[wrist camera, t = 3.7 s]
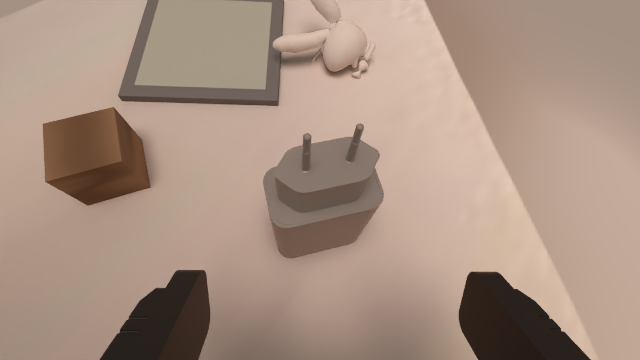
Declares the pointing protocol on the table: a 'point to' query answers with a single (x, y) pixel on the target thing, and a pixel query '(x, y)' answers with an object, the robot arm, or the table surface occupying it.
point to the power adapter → (322, 194)
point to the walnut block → (94, 156)
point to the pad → (206, 53)
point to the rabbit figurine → (331, 40)
